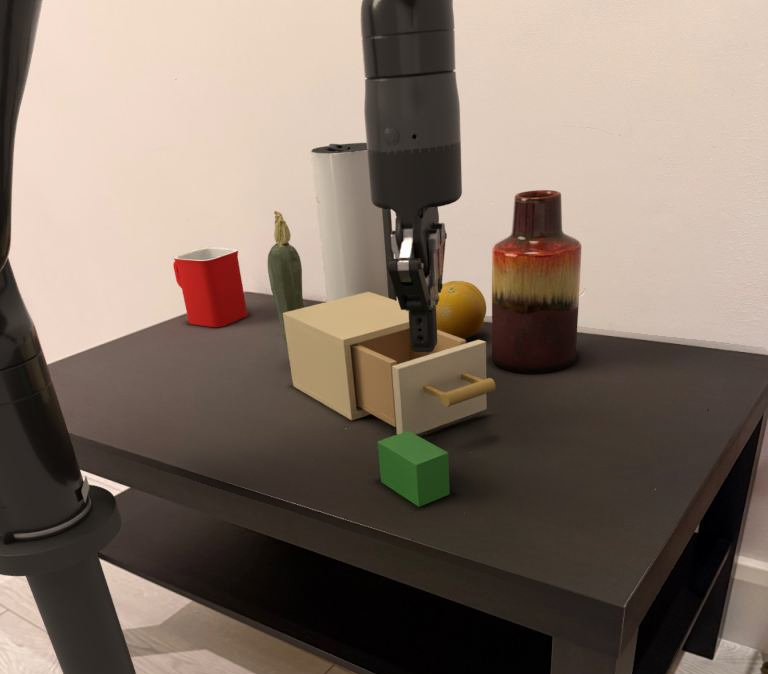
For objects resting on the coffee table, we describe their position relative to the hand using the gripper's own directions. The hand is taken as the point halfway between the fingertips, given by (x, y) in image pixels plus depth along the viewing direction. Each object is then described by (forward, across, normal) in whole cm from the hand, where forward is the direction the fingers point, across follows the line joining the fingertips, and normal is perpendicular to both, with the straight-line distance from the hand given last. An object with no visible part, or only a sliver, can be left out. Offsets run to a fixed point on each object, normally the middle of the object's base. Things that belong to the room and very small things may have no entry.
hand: (424, 348), depth 70 cm
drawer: (+12, +12, +3) cm, 17 cm away
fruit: (+13, +40, +4) cm, 42 cm away
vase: (+13, +32, -7) cm, 35 cm away
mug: (+13, +50, +48) cm, 70 cm away
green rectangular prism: (+12, -4, +1) cm, 13 cm away
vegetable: (+13, +28, +24) cm, 39 cm away
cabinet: (+12, +20, +12) cm, 27 cm away
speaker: (+13, +42, +18) cm, 48 cm away
